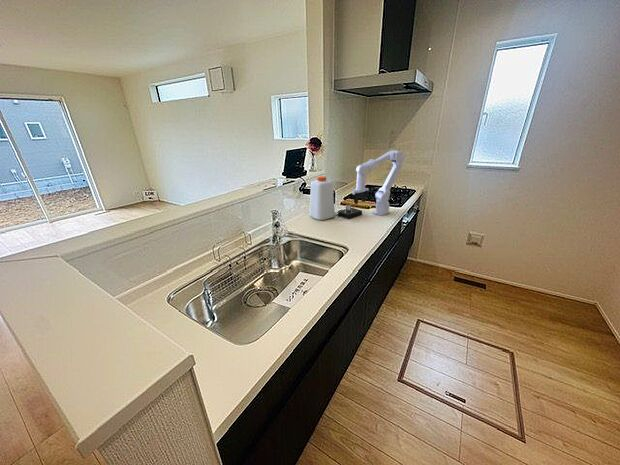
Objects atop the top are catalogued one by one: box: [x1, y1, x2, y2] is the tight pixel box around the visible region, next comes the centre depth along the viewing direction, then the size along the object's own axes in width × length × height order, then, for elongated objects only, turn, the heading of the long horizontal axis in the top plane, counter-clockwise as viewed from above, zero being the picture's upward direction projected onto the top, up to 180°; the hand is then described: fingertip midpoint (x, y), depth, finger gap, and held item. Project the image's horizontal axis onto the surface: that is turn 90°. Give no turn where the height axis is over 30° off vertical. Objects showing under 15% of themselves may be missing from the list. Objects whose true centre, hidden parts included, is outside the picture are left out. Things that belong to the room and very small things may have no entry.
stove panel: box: [337, 207, 363, 220], centre depth 179 cm, size 14×10×3 cm
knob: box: [344, 204, 352, 212], centre depth 178 cm, size 4×4×4 cm
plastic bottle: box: [309, 175, 336, 221], centre depth 173 cm, size 15×15×28 cm
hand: (359, 202), depth 175 cm, fingers open, 7 cm apart
